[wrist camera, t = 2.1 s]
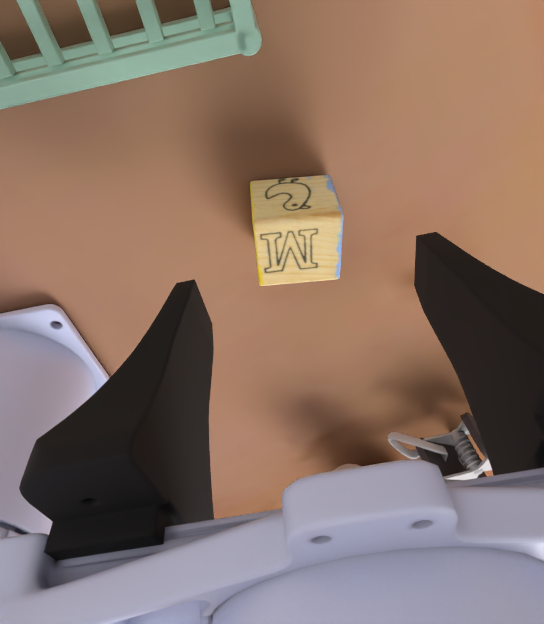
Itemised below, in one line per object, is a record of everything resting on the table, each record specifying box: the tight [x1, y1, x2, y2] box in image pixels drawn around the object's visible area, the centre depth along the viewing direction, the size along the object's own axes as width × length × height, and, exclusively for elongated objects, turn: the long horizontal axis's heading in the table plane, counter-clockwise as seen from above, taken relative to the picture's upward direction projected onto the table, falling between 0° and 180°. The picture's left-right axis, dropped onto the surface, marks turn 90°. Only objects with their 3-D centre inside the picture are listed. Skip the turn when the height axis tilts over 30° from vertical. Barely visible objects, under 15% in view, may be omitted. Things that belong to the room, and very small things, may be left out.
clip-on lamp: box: [333, 412, 492, 483], centre depth 31 cm, size 12×6×18 cm
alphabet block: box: [250, 175, 344, 286], centre depth 17 cm, size 3×3×3 cm
